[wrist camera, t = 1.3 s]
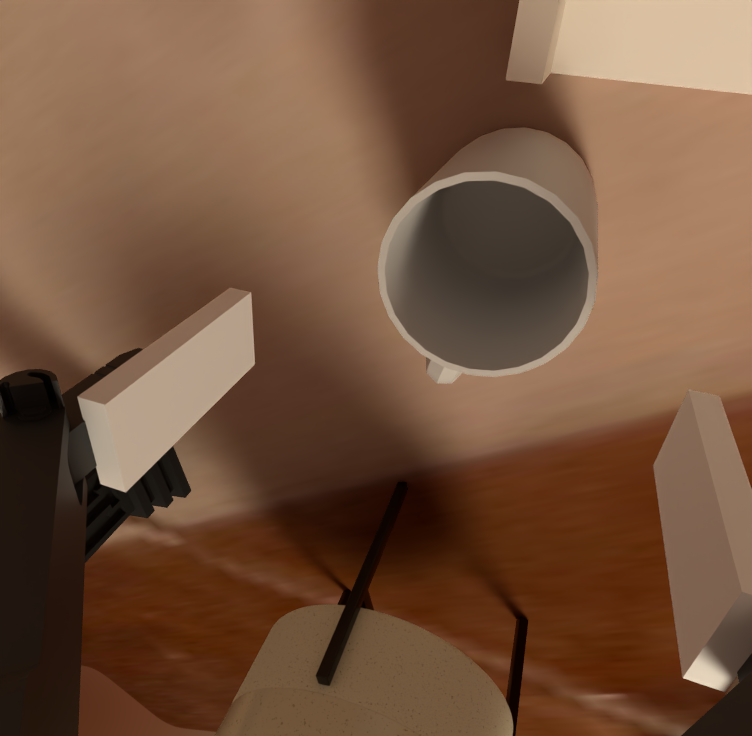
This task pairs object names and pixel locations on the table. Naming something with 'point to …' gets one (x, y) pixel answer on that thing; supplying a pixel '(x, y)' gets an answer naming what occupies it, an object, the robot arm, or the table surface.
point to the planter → (369, 672)
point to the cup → (494, 257)
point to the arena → (636, 42)
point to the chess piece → (131, 499)
